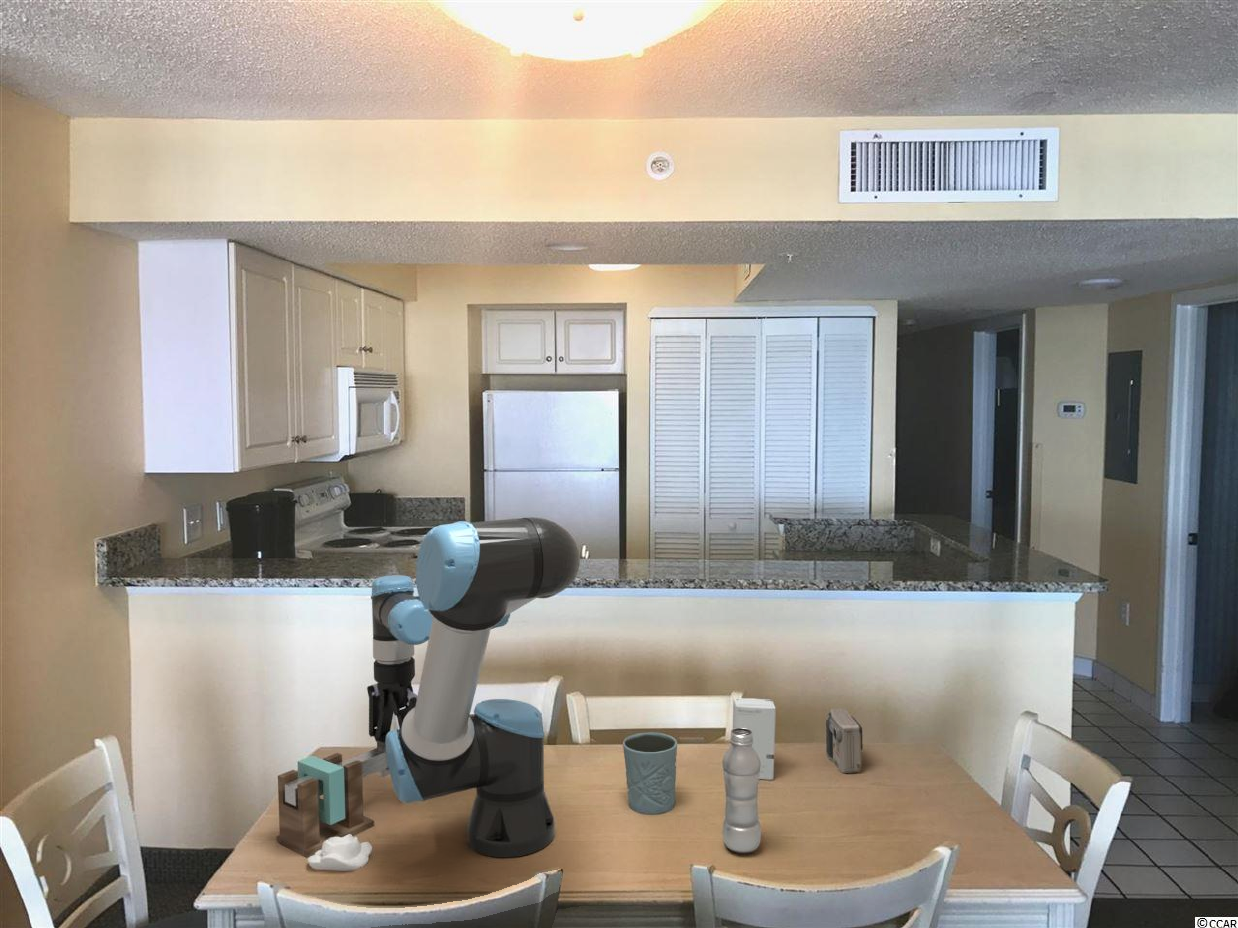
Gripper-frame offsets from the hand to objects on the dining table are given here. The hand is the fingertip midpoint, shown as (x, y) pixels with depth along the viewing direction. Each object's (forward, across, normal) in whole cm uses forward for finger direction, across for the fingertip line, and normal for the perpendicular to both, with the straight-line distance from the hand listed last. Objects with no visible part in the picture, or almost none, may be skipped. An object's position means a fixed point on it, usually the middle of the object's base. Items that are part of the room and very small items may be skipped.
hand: (397, 778), depth 164 cm
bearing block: (+4, 0, +16) cm, 17 cm away
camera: (+5, -63, -65) cm, 90 cm away
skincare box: (+5, -50, -50) cm, 70 cm away
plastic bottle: (+5, -62, -22) cm, 66 cm away
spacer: (+1, 0, +16) cm, 17 cm away
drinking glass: (+5, -40, -26) cm, 48 cm away
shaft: (-3, 0, +10) cm, 10 cm away
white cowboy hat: (+5, -10, +20) cm, 23 cm away
